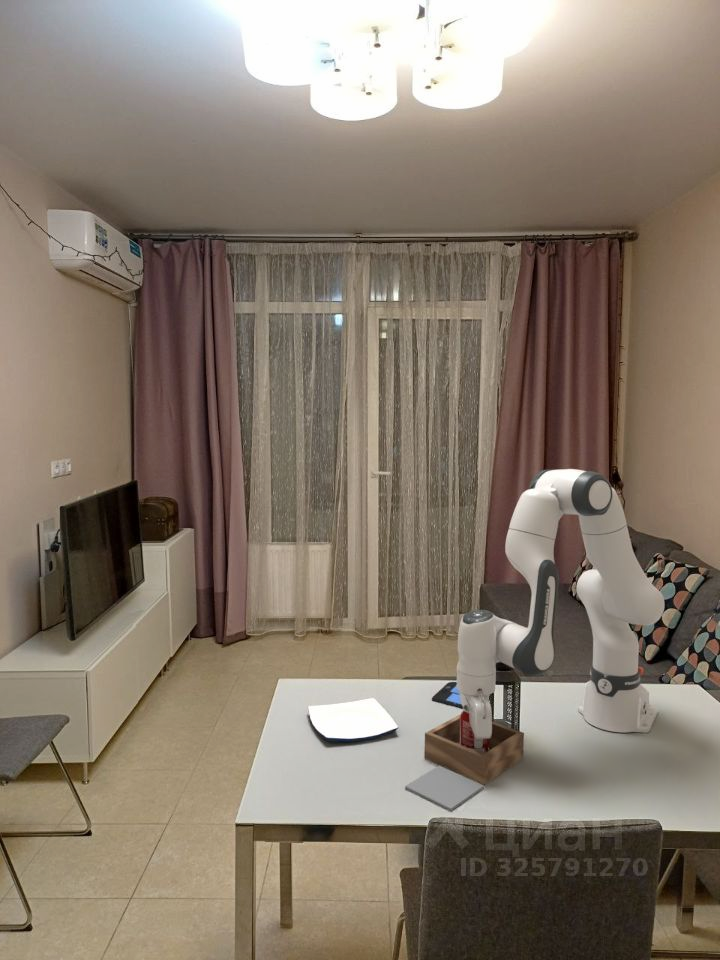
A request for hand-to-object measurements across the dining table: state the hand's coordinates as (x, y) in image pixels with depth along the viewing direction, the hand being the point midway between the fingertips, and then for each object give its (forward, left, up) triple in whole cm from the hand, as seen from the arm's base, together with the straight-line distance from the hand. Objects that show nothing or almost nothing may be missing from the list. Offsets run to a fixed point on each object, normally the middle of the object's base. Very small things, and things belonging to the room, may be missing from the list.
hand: (474, 738), depth 159 cm
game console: (-26, -21, -5) cm, 34 cm away
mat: (+16, +3, -5) cm, 16 cm away
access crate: (0, 0, -5) cm, 5 cm away
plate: (+8, -32, -5) cm, 33 cm away
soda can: (0, 0, -5) cm, 5 cm away
